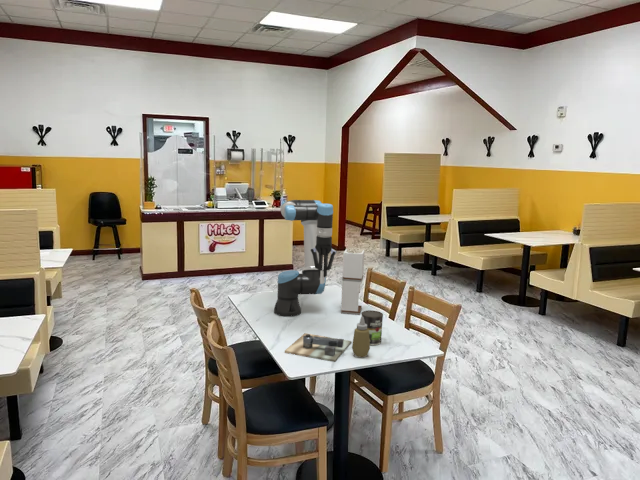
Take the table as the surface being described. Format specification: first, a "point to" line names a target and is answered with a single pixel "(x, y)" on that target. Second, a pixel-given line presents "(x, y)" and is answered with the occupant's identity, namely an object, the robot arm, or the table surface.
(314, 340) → the latch bar
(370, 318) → the coffee can
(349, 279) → the white square tower
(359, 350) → the squeeze bottle
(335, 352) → the plate
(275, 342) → the table surface
